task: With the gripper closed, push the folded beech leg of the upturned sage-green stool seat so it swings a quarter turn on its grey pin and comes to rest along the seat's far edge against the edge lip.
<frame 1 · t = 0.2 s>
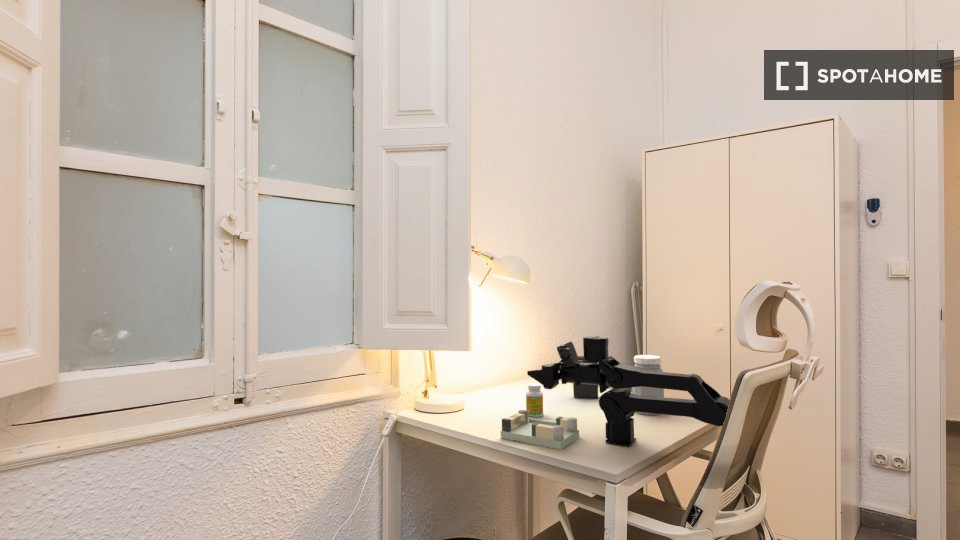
hand: (534, 369, 148), 17 cm above the table, tool horizontal, fingers open, 9 cm apart
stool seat: (539, 437, 139), on the table
supplement bottle: (534, 415, 162), on the table
card reader: (586, 397, 185), on the table
hinged leg: (515, 420, 143), point 4 cm above the table, hinge at 0.0°
jar: (648, 412, 164), on the table
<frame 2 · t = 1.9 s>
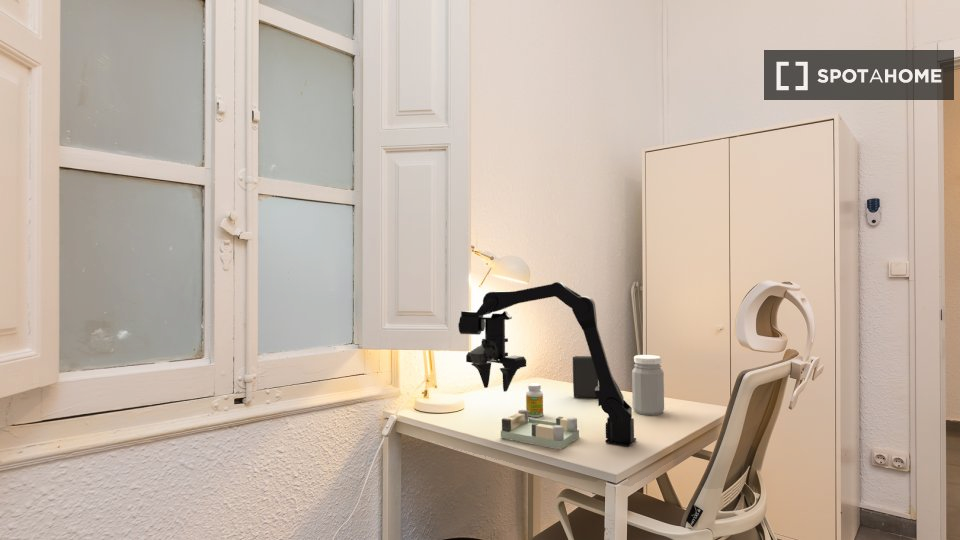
hand: (495, 389, 144), 12 cm above the table, tool pointing down, fingers open, 7 cm apart
nothing on the table moved.
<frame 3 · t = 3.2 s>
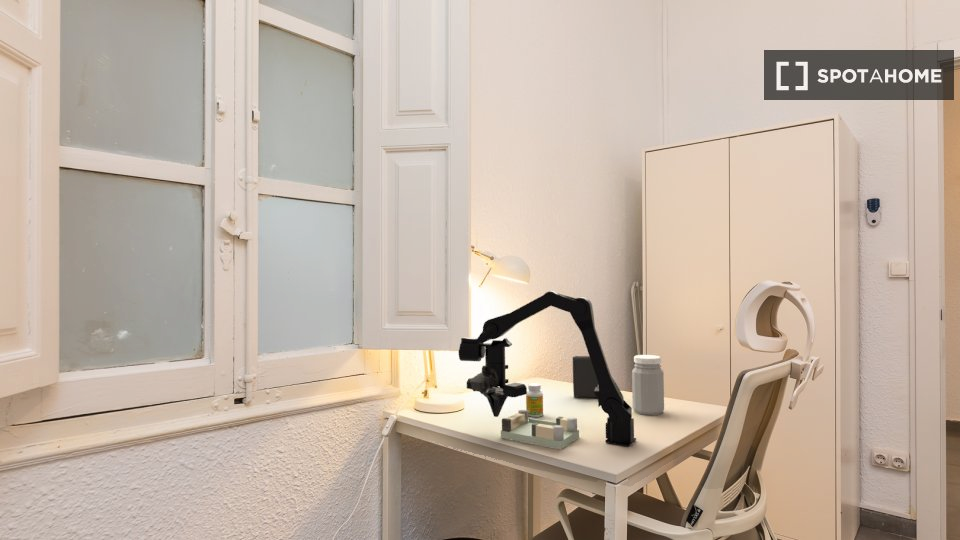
hand: (496, 416, 144), 4 cm above the table, tool pointing down, fingers closed
nothing on the table moved.
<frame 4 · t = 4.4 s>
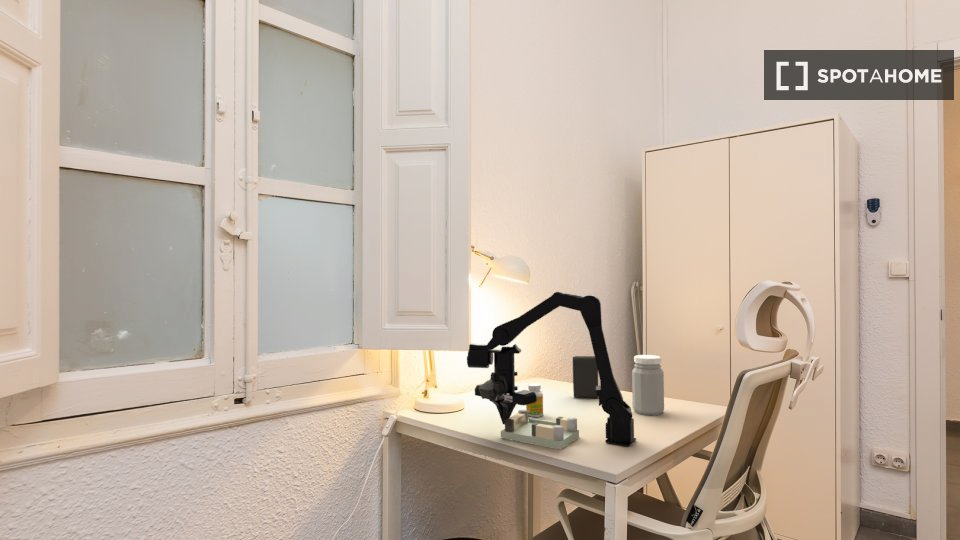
hand: (504, 424, 142), 3 cm above the table, tool pointing down, fingers closed
hinged leg: (517, 420, 143), point 4 cm above the table, hinge at 5.7°, touching gripper
everything else where it was.
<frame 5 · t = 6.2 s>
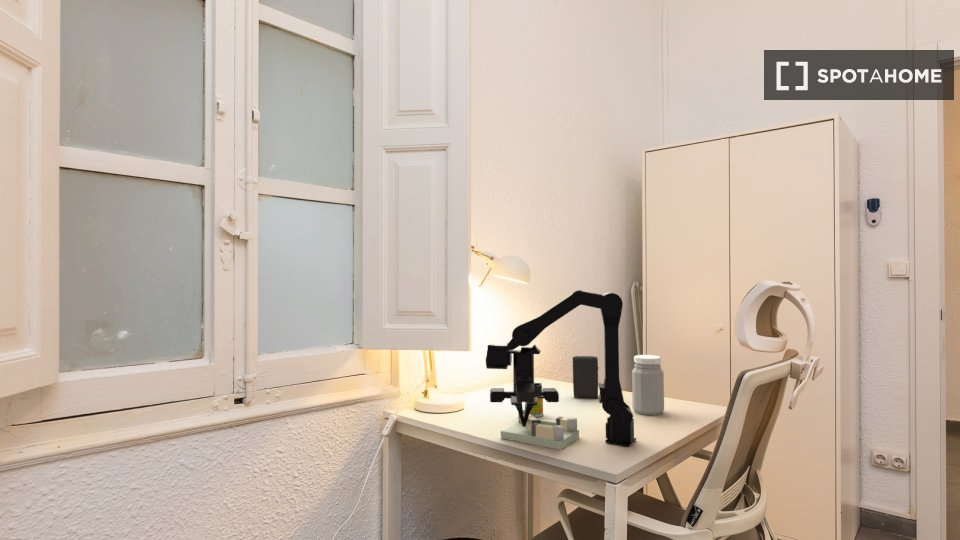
hand: (524, 426, 139), 3 cm above the table, tool pointing down, fingers closed
hinged leg: (529, 420, 142), point 4 cm above the table, hinge at 50.7°, touching gripper
everything else where it was.
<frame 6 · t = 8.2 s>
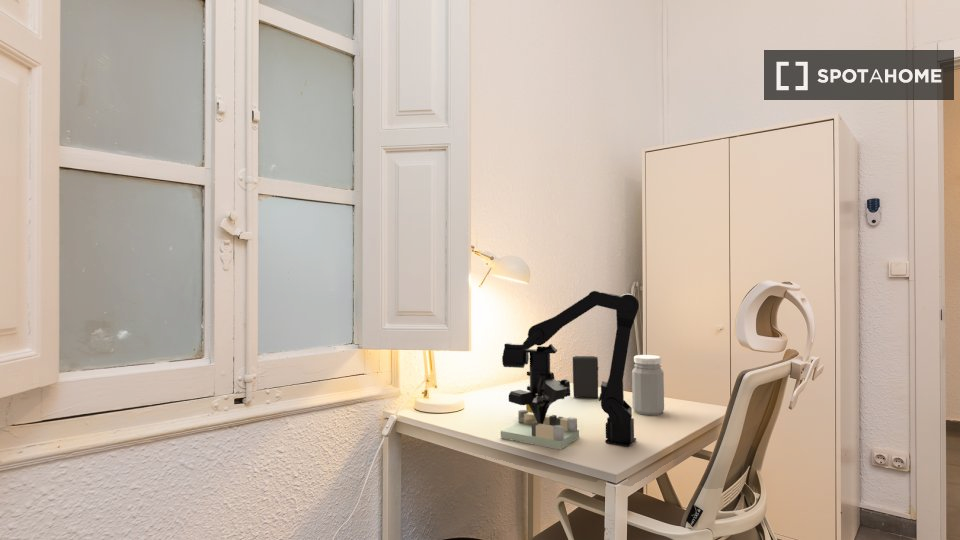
hand: (540, 424, 140), 3 cm above the table, tool pointing down, fingers closed
hinged leg: (536, 418, 144), point 4 cm above the table, hinge at 89.2°, touching gripper
everything else where it was.
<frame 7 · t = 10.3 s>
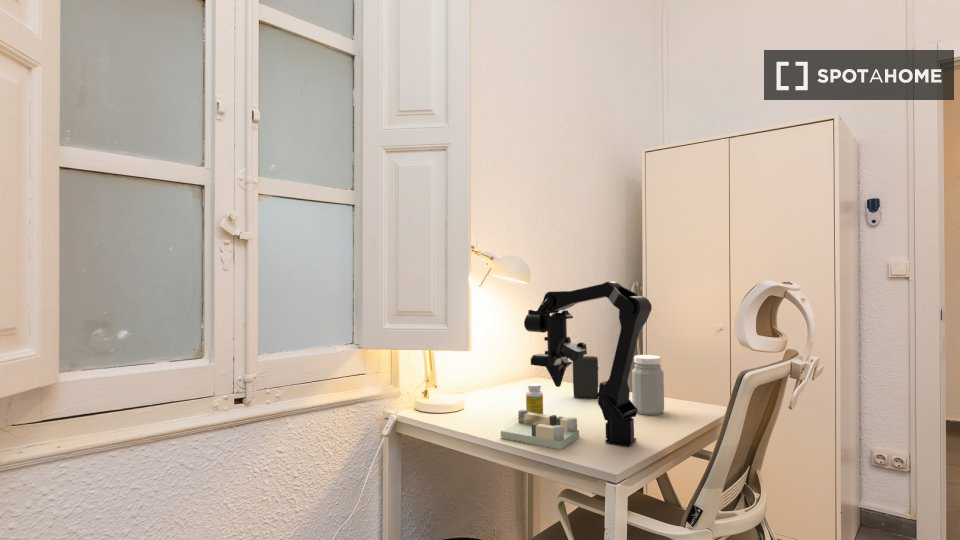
hand: (558, 386, 148), 12 cm above the table, tool pointing down, fingers closed
hinged leg: (536, 418, 144), point 4 cm above the table, hinge at 89.3°
everything else where it was.
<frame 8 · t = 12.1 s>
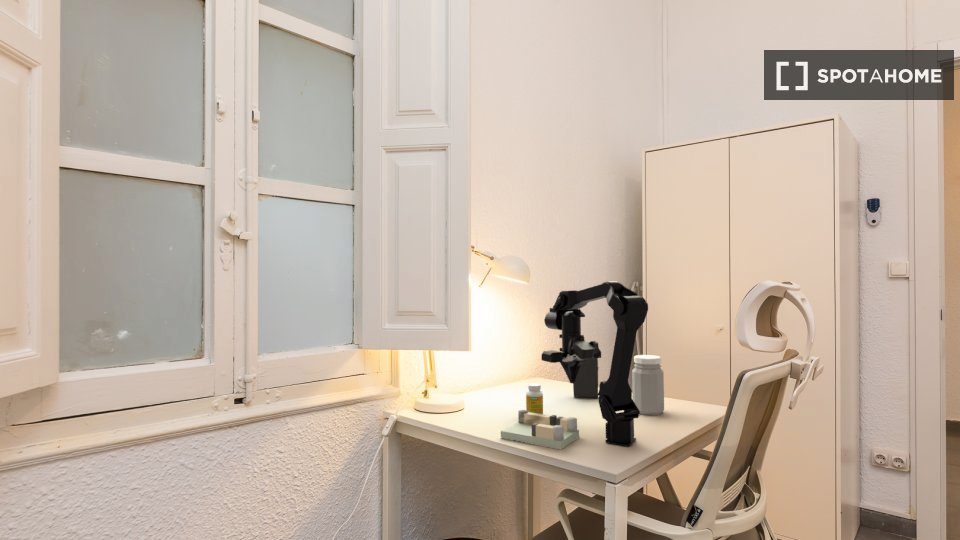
hand: (572, 383, 153), 12 cm above the table, tool pointing down, fingers closed
nothing on the table moved.
at the end: hinged leg at +89° (first picture: +0°); hinged leg touching nothing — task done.
